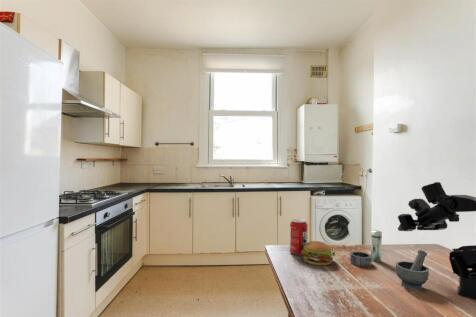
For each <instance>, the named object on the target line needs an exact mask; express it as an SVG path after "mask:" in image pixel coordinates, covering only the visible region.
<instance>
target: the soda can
mask: <svg viewBox="0 0 476 317" xmlns="http://www.w3.org/2000/svg"><path fill="white" fill-rule="evenodd" d="M308 227H309V225H308V223H307V220H306V219H302V218H293V219H291V222H290V223H289V252H290V253H291V254H293V255H295V256H302V254H301V251H302V250H303V246H305V244H306V243H308V236H309V235H308V232H309V230H308V229H309V228H308Z"/></svg>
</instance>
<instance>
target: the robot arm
mask: <svg viewBox="0 0 476 317" xmlns="http://www.w3.org/2000/svg"><path fill="white" fill-rule="evenodd" d="M420 189H421V191H422V193H423V195H424V196H425V197H424V198H425V199H426V200H425V199H423V198H414V199H411V200H409V201H408V204H407V205H408V206H409V208H410V209H411V210H414V211H415V212H414V215H415V217H416V219H414V218H413V216H412V214H410V213H401V214H399V215H398V216H397V219H398V222H399V226H398V227H397V230H398V231H399V232H413V231H416V230H417V231H440V230H442V231H443V230H446V229H447V228H448V223H447V220H448V221H449V222H450V223H451V222H452V223H454V222H455V223H456V222H460V214H458V213H469V212H470V213H471V212H476V197H475V196H472V195H468V194H447V193H446V192H445V190H444V188H443V186H442V183H441V182H440V181H435V182H433V183H429V184H427V185H423V186H422V187H421V188H420ZM427 202H428V203H427ZM429 204H432V205H433V206H432V207H431V206H430V205H429ZM451 250H452V251H450V252H449V255H448V258H449V259H448V260H449V263H450V266H451V269H452V270H451V271H452V272H453V274H455V275H457V276H458V277H459V278H458V279H459V280H458V281H459V282H458V283H459V284H458V286H457V290H456V291H457V295H460V296H464V297H467V298H471V299H475V300H476V245H473V244H472V245H463V246H460V247H458V248H452V249H451Z"/></svg>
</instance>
